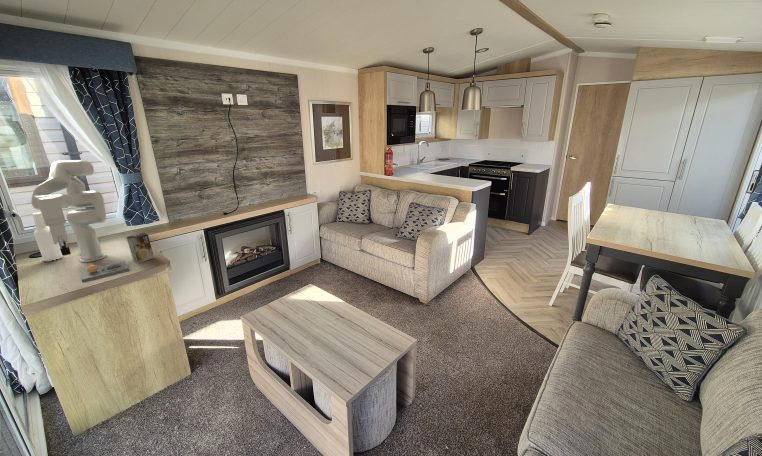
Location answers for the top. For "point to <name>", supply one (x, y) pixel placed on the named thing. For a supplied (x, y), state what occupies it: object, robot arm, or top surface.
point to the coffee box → (140, 247)
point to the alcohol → (45, 239)
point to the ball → (92, 268)
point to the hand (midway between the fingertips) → (66, 254)
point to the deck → (104, 271)
